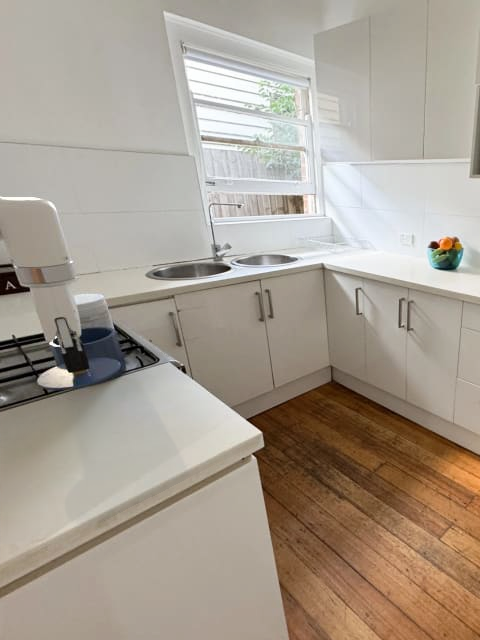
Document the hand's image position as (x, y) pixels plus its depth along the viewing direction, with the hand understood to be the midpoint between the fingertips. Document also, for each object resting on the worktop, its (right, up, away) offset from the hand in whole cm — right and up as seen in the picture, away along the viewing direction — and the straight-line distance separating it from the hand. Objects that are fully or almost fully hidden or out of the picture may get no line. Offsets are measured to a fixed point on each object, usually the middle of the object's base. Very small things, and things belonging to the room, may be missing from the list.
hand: (78, 366), depth 73 cm
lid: (0, -2, +1) cm, 2 cm away
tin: (-9, -3, +14) cm, 17 cm away
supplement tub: (-16, +2, +24) cm, 29 cm away
